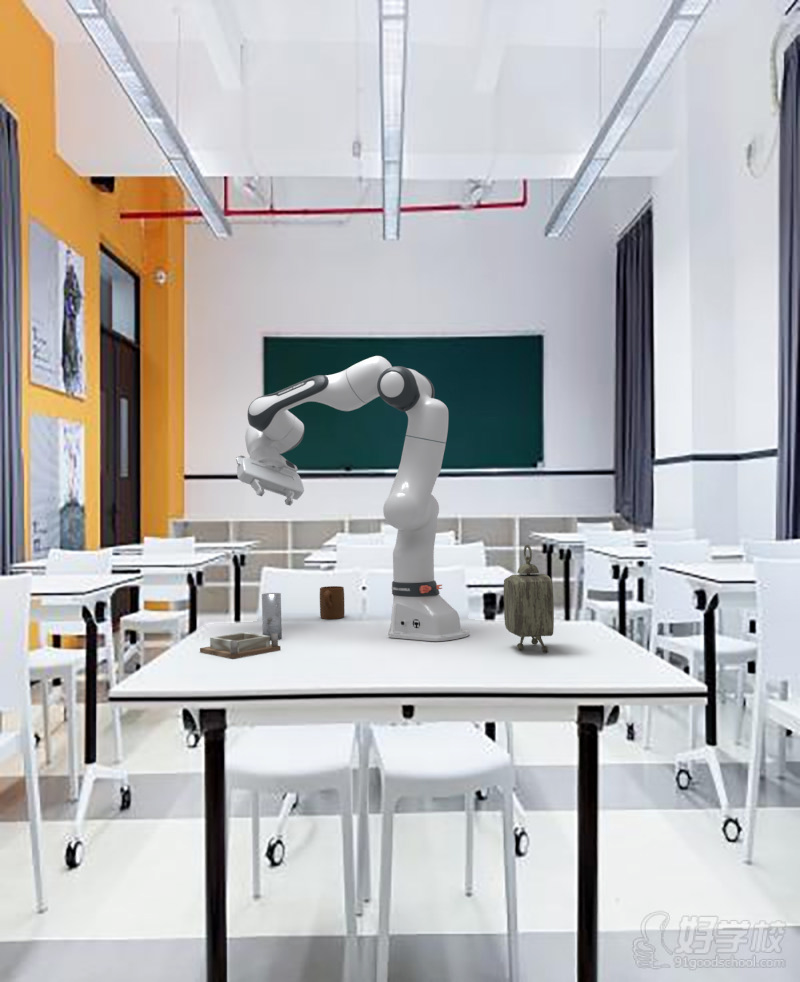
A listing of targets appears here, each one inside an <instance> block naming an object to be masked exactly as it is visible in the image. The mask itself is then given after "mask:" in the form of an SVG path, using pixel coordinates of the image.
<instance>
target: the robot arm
mask: <svg viewBox="0 0 800 982" xmlns="http://www.w3.org/2000/svg"><path fill="white" fill-rule="evenodd" d="M435 394H436V393H435V386H434V385H433V383H432V381H431V380H430V379H429V378H428V377H427V376H425V375H424V374H421V373H419V372H418V371H417V370H415V369H412V368H407V367H405V366H401V365H400V366H399V365H397V366H395V365H394V366H392V364H391V363H390V361H389V360H387V358H385V357H383V356H381V355H375V356H371V357H368V358H366V359H363V360H361V361H359V362H357V363H354V364H353V365H351V366H350V367H348V368H346V369H344V370H342V371H339V372H336V373H333V374H328V375H327V374H325V375H322V374H319V375H318V374H317V375H315V376H311V377H308V378H306V379H304V380H301V381H299V382H296V383H294V384H291V385H289V386H288V387H285V388H283V389H280V390H278V391H276V392H273V393H269V394H265V395H261V396H258V397H257V398H255V399H253V400H252V401H251V402H250V404H249V406H248V409H247V420H248V424H249V425H248V426H247V427H246V430H245V436H244V439H245V447H246V450H247V451H246V452H247V454H248V456H249V457H247V456H244V455H237V456H236V458H235V462H236V465H237V469H236V475H237V479H238V480H239V481H240V482H241V483H243V484H244V483H245V484H246V485H247V484H248V485H250V486H251V488H252V489H253V490H254V491H255V494H256V495H257V496H259V497H263V495H265V493H266V492H265V491H268V492H271V493H275V494H278V495H280V496H283V497H286V498H285V499H284V503H285V505H287V506H290V507H291V506H292V505H293V503H294V500H295V501H296V500H297V501H298V499H299V498H300V497H301V496H302V495H303V494H304V492H305V487H304V484H303V481H302V479H301V476H300V475H299V474H298V473H297V472H298V467H297V465H295V464H294V463H292V462H291V461H290V460H288V459H286V458H285V457H284V456H283V454H285V453H287V452H290V451H292V450H294V449H295V448H296V447H298V446H299V444H301V442H302V440H303V438H304V434H305V424H304V423H303V421H301V420H300V419H299V418H298V417H297V416H296V415H294V414H293V413H292V412H291V411H289V410H291V409H292V408H294V407H297V406H299V405H301V404H304V403H308V402H309V403H310V402H314V403H315V402H316V403H318V404H319V403H320V404H323V405H326V406H329V407H331V408H334V409H335V410H339V411H343V412H350V411H354V410H357V409H360V408H361V407H363V406H364V405H367V404H368V403H370V402H371V401H373V400H375V399H376V398H378V397H380V398H381V399H382V400H383V401H384V402H385V403H386V404H387V405H389V406H391V407H393V408H394V409H397V410H398V411H400V412H402V413H403V412H404V413H405V414H406V415H407V428H406V431H405V432H406V433H405V437H404V443H403V447H402V452H401V459H400V463H399V465H398V469H397V472H396V475H395V478H394V479H393V483H392V486H391V487H390V488H391V489H390V492H389V494H388V497H387V498H386V500H385V501H384V504H383V507H382V508H383V509H382V510H383V517H384V519H385V521H386V523H388V524H389V525H390V526H391V527H393V528H395V529H396V530H397V534H396V540H395V545H394V548H393V552H392V568H393V569H392V572H393V573H392V575H393V577H392V578H393V581H392V582H391V595H392V597H393V600H392V601H393V602H392V606H391V607H392V609H391V619H390V626H389V630H388V637H389V638H393V639H406V640H413V641H414V640H416V641H428V642H445V641H452V640H458V639H461V638H463V639H464V638H466V637H468V636H470V631H469V630H466V629H465V630H464V629H461V621H460V615H459V613H458V611H457V610H456V609H455V608H454V607H452V606H451V605H450V604H449V603H448V602H447V600H445V599H444V598H443V597H442V596H441V593H440V591H439V590H442V589H443V584H437V582H436V580H435V569H434V568H435V564H434V563H435V560H434V558H435V556H434V555H435V542H436V535H437V525H438V517H439V513H440V505H439V502H438V500H437V499H436V497H435V495H433V494H432V492H433V490H434V487H435V485H436V481H437V479H438V477H439V475H440V473H441V470H442V464H443V460H444V455H445V454H444V453H445V450H446V445H447V444H446V443H447V438H448V431H449V409H448V407H447V405H446V404H445V403H444V402H443V401H441V400H440V399H438V398H437V399H436V398H435Z"/></svg>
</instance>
